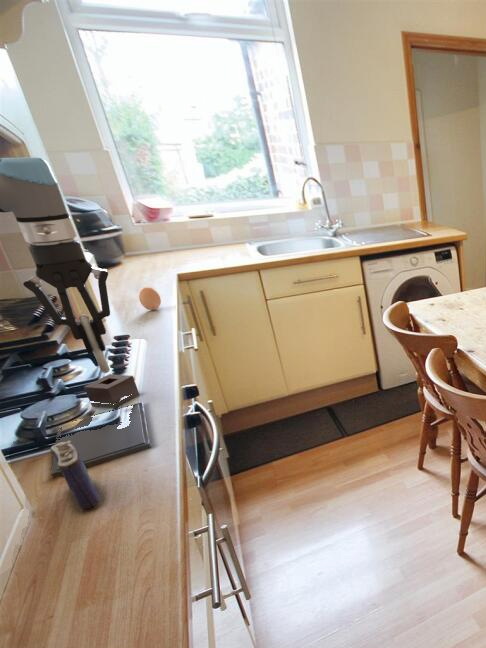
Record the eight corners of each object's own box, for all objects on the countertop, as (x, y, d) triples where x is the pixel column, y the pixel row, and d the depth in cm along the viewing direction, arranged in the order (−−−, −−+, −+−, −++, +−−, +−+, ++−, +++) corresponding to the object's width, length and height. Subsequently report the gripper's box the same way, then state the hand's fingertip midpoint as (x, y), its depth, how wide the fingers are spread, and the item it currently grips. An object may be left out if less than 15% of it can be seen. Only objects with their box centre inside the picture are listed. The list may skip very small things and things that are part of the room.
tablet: (60, 428, 96) (57, 424, 95) (143, 405, 104) (142, 401, 103) (53, 478, 81) (50, 473, 81) (151, 447, 89) (149, 442, 89)
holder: (91, 406, 103) (83, 386, 101) (117, 392, 109) (109, 374, 107) (115, 408, 103) (107, 388, 101) (139, 394, 108) (132, 375, 106)
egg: (147, 308, 165) (139, 285, 161) (166, 306, 166) (158, 284, 163) (140, 313, 160) (132, 290, 156) (160, 311, 161) (152, 288, 158)
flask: (69, 489, 79) (43, 436, 75) (91, 480, 81) (67, 428, 77) (81, 514, 73) (54, 459, 69) (104, 504, 75) (80, 450, 71)
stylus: (100, 373, 103) (76, 315, 97) (106, 370, 104) (83, 313, 98) (106, 374, 103) (82, 316, 97) (112, 371, 104) (89, 313, 98)
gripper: (-2, 250, 85) (50, 365, 94) (100, 239, 93) (139, 346, 102) (4, 243, 90) (53, 353, 99) (100, 234, 98) (137, 336, 108)
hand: (96, 350), depth 101 cm, fingers closed on stylus, 1 cm apart
